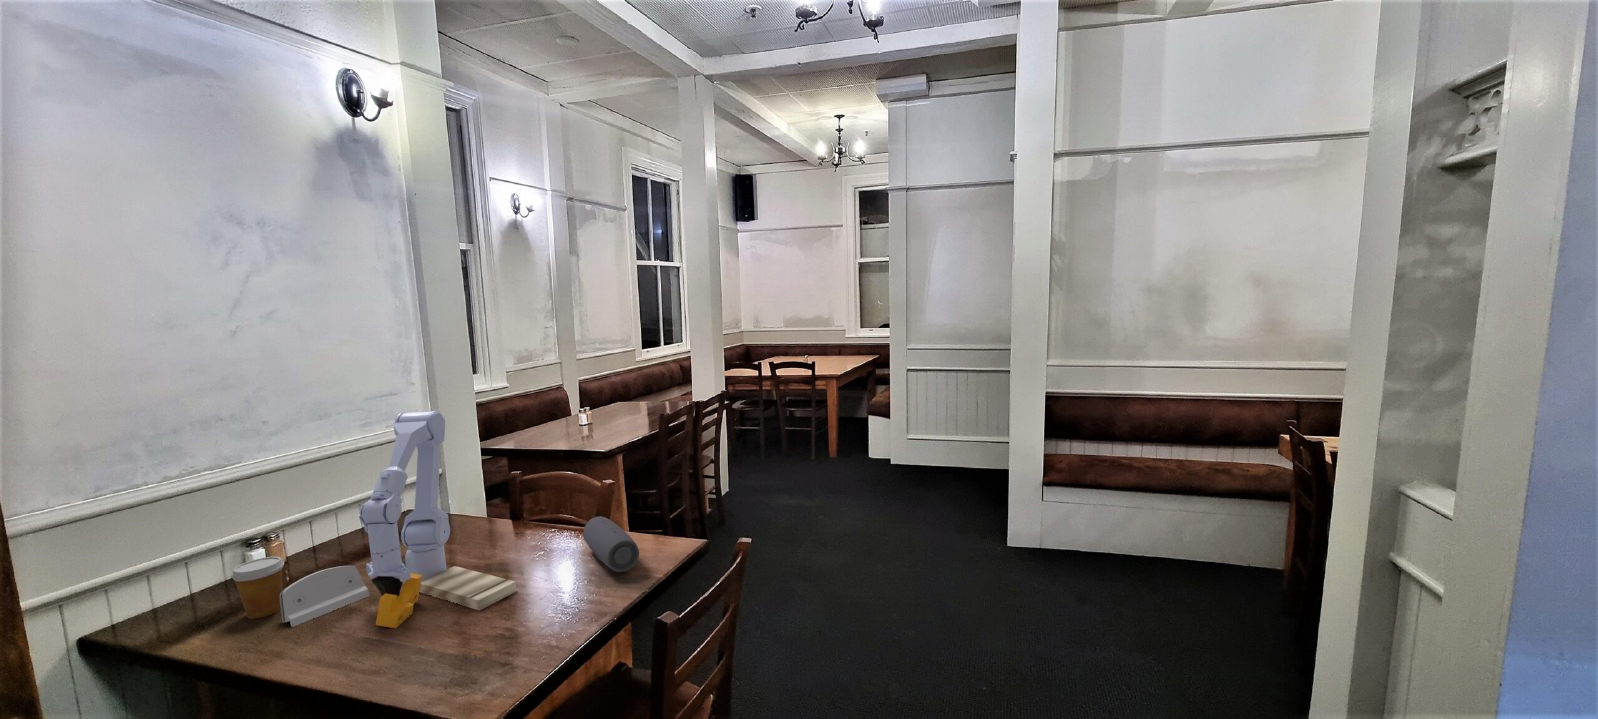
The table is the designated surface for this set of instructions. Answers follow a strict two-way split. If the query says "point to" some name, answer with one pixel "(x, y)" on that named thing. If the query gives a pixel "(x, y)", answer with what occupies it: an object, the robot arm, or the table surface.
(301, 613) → the gray arched bracket
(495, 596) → the maple board
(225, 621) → the table surface
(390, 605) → the pipe clamp
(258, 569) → the disposable coffee cup
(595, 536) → the bluetooth speaker
